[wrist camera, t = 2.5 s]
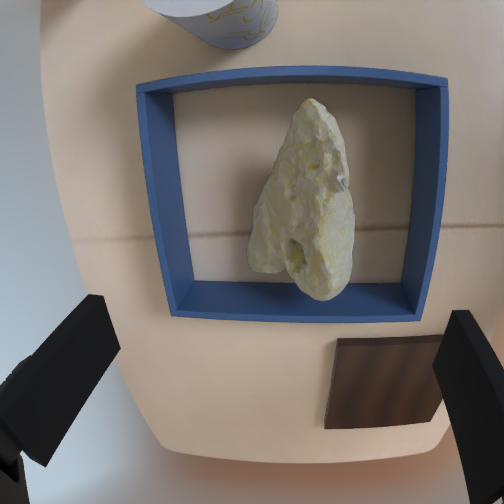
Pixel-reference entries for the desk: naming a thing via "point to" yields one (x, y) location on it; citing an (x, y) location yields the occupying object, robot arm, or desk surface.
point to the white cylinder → (221, 19)
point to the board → (383, 382)
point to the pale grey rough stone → (307, 208)
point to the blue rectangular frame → (288, 294)
